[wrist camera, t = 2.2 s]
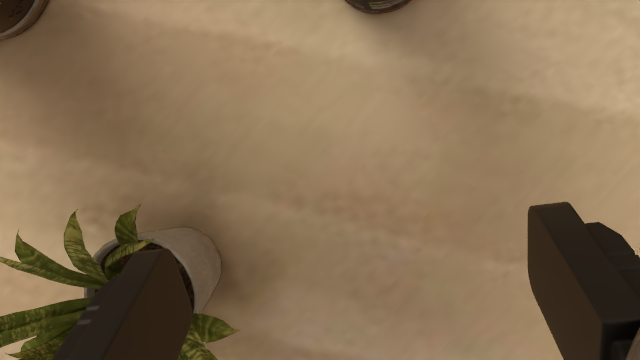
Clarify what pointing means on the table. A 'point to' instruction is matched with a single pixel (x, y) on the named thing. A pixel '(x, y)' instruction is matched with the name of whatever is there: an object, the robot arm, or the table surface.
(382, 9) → the supplement bottle
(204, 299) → the house plant
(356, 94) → the table surface
